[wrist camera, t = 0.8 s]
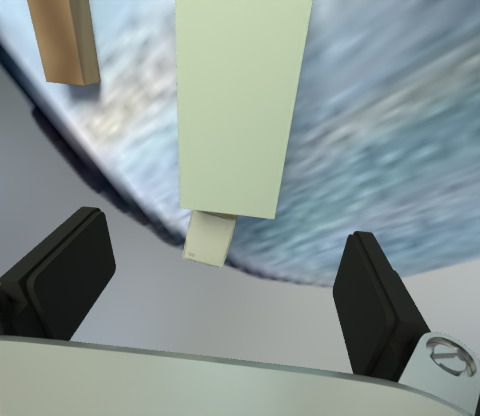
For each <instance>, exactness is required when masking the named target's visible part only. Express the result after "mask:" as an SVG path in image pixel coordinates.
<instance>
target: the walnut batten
mask: <svg viewBox="0 0 480 416" xmlns="http://www.w3.org/2000/svg"><path fill="white" fill-rule="evenodd" d="M27 2H28V6H29V10H30V14H31V19H32V23H33V27H34V31H35V35H36V40H37V44H38V48H39V52H40V56H41V61H42V65H43V69H44V73H45V77H46V82H53V83H63V84H72V85H82V86H85V85H89V84H93V83H97V82H101V80H100V74H99V67H98V60H97V53H96V47H95V40H94V33H93V27H92V20H91V13H90V7H89V0H27Z"/></svg>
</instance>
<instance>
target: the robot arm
mask: <svg viewBox="0 0 480 416" xmlns="http://www.w3.org/2000/svg"><path fill="white" fill-rule="evenodd" d="M115 269H116V264H115V259H114V255H113V250H112V245H111V240H110V236H109V231H108V226H107V221H106V217H105V214H104V213H103V212H101V210H100V209H99V208H94V207H81V208H80V209H79V210H77V211H76V212H75V213H74V214H73V215H72V216H71V217H70V218H68V219H67V220H66V221H65V222H64V223H63V224H61V225H60V226H59V227H58V228H57V229H56V230H54V231H53V232H52V233H51V234H50V235H49V236H48V237H46V238H45V239H44V240H43V241H42V242H41V243H39V244H38V245H37V246H36V247H35V248H34V249H33V250H32V251H30V252H29V253H28V254H27V255H26V256H25V257H23V258H22V259H21V260H20V261H19V262H18V263H16V264H15V265H14V266H13V267H12V268H11V269H10V270H8V271H7V272H6V273H5V274H4V275H3V276H2V277H1V278H0V416H480V360H479V359H478V357H477V356H476V355H475V354H474V352H473V351H472V350H470V349H469V348H468V347H467V346H466V345H465V344H463V343H462V342H460V341H459V340H457V339H455V338H453V337H451V336H449V335H446V334H442V333H438V332H431V331H430V329H429V328H428V326H427V324H426V322H425V321H424V319H423V317H422V315H421V314H420V312H419V310H418V308H417V307H416V305H415V303H414V301H413V299H412V298H411V296H410V294H409V293H408V291H407V289H406V287H405V285H404V284H403V282H402V280H401V278H400V277H399V275H398V274H397V272H396V271H394V270H393V269H392V267H391V265H390V263H389V262H388V260H387V258H386V256H385V254H384V253H383V251H382V249H381V247H380V245H379V244H378V242H377V240H376V238H375V237H374V235H373V233H371V232H361V231H355V232H354V234H353V235H351V234H350V235H349V236H348V238H347V242H346V245H345V249H344V252H343V255H342V259H341V262H340V266H339V269H338V272H337V276H336V279H335V283H334V286H333V298H334V302H335V305H336V309H337V313H338V317H339V321H340V325H341V328H342V332H343V336H344V340H345V344H346V347H347V351H348V355H349V359H350V363H351V367H352V371H353V374H348V373H341V372H334V371H327V370H319V369H311V368H304V367H296V366H287V365H279V364H278V365H277V364H270V363H262V362H253V361H245V360H236V359H228V358H219V357H210V356H201V355H192V354H184V353H174V352H166V351H156V350H148V349H139V348H130V347H120V346H111V345H102V344H91V343H82V342H73V341H69V340H70V339H71V337H72V336H73V334H74V333H75V332H76V330H77V329H78V327H79V325H80V324H81V323H82V321H83V320H84V318H85V317H86V315H87V314H88V312H89V310H90V309H91V308H92V306H93V305H94V303H95V302H96V300H97V299H98V297H99V296H100V294H101V293H102V291H103V290H104V288H105V287H106V285H107V284H108V282H109V281H110V279H111V278H112V276H113V275H114V273H115Z"/></svg>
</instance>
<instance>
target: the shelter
mask: <svg viewBox="0 0 480 416" xmlns="http://www.w3.org/2000/svg"><path fill="white" fill-rule="evenodd" d="M312 1H313V0H175V22H176V64H177V106H178V148H179V189H180V208H184V209H193V210H201V211H209V212H218V213H226V214H234V215H243V216H251V217H260V218H268V219H275V213H276V207H277V201H278V196H279V190H280V184H281V179H282V173H283V167H284V161H285V156H286V150H287V144H288V139H289V133H290V127H291V121H292V116H293V110H294V104H295V99H296V93H297V87H298V81H299V76H300V70H301V64H302V59H303V53H304V47H305V41H306V36H307V30H308V24H309V19H310V13H311V7H312Z"/></svg>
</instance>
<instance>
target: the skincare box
mask: <svg viewBox="0 0 480 416" xmlns="http://www.w3.org/2000/svg"><path fill="white" fill-rule="evenodd" d="M236 220H237V215H234V214H226V213H218V212H209V211H201V210H193V209H192V213H191V218H190V222H189V227H188V231H187V236H186V241H185V246H184V251H183V256H182V258H184V259H188V260H191V261H195V262H199V263H203V264H206V265H210V266H215V267H219V268H222V266H223V264H224V261H225V259H226V256H227V253H228V250H229V246H230V243H231V240H232V236H233V232H234V228H235V225H236Z"/></svg>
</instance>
